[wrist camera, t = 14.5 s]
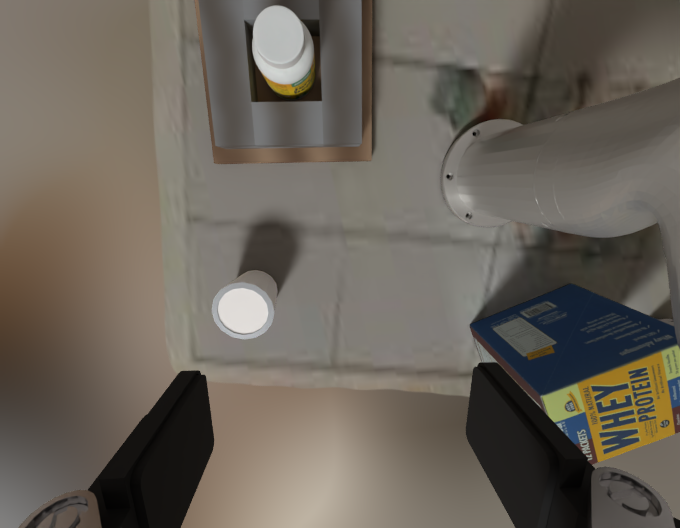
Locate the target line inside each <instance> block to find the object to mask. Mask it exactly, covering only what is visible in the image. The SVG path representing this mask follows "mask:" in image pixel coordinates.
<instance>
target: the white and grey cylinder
mask: <svg viewBox="0 0 680 528" xmlns="http://www.w3.org/2000/svg"><path fill="white" fill-rule="evenodd" d="M277 294H278V290H277V284H276V282H275V281H274V279H273V278H272V277H271V276H270V275H268V274H267V273H265V272H263V271H259V270H252V271H247V272H246V273H244V274H242V275H240V276H239V277H238V278H236V279H235V280H233V281H232V282H231V283H229V284H228V285H226V286H225V287H223V288H222V289H221V290H220V291H219V292H218V294H217V295H216V296H215V298H214V300H213V305H212V314H213V318H214V321H215V323H216V324H217V325H218V327H219V328H220V329H221V330H222V331H223V332H225V333H226V334H228V335H230V336H231V337H235V338H239V339H250V338H256V337H257V336H259V335H261V334H263V333H265V332H266V330H267V329H268V328H269V327H270V325H271V324H272V321H273V317H274V312H275V306H276V300H277Z"/></svg>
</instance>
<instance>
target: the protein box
mask: <svg viewBox="0 0 680 528" xmlns="http://www.w3.org/2000/svg"><path fill="white" fill-rule="evenodd" d="M470 329H471V332H472V335H473V337H474V340H475V343H476V346H477V349H478V352H479V355H480V358H481V361H482V362H497V363H498V364H499V365H500V366H501V367H502V368H503V369H504V370H505V371H506V372H507V373H508V374H509V375H510V376H511V377H512V378H513V379H514V380H515V381H516V383H517V384H518V385H519V386H520V387H521V388H522V389H523V390H524V391H525V392H526V393H527V394H528V395H529V396H530V397H531V398H532V399H533V400H534V402H535V403H536V404H537V405H538V406H539V407H540V408H541V409H542V410H543V411H544V412H545V413H546V414H547V415H548V416H549V417H550V418H551V420H552V421H553V422H554V423H555V424H556V425H557V426H558V427H559V428H560V429H561V430H562V431H563V432H564V433H565V434H566V435H567V436H568V437H569V439H570V440H571V441H572V442H573V443H574V444H575V445H576V446H577V447H578V448H579V449H580V450H581V451H582V452H583V453H584V454H585V455H586V456H587V458H588V462H589V463H590V464H591V465H592V464H595V463H597V462H600V461H603V460H606V459H609V458H611V457H614V456H617V455H619V454H622V453H625V452H627V451H630V450H633V449H635V448H638V447H641V446H644V445H646V444H649V443H652V442H655V441H657V440H660V439H663V438H665V437H668V436H671V435H673V434H675V433H678V432H680V349H679V346H678V343H677V338H676V334H675V327H674V326H672V325H670V324H668V323H665V322H663V321H660V320H658V319H655V318H653V317H651V316H648V315H646V314H643V313H641V312H639V311H636V310H634V309H631V308H629V307H627V306H624V305H622V304H620V303H617V302H615V301H612V300H610V299H608V298H605V297H603V296H601V295H598V294H596V293H593V292H591V291H589V290H586V289H584V288H582V287H579V286H577V285H575V284H569V285H566V286H564V287H561V288H559V289H556V290H554V291H552V292H549V293H547V294H544V295H542V296H539V297H537V298H534V299H532V300H529V301H527V302H525V303H522V304H519V305H517V306H514V307H512V308H509V309H507V310H504V311H502V312H499V313H497V314H494V315H492V316H489V317H487V318H484V319H482V320H479V321H477V322H475V323H472V324H470Z"/></svg>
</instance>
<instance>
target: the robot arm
mask: <svg viewBox="0 0 680 528" xmlns="http://www.w3.org/2000/svg"><path fill="white" fill-rule="evenodd" d="M473 132H474V134H475V135H474V136H473V134H472V133H473ZM447 174H448V175H449V178H448V179H447V178H446V176H447ZM441 190H442V193H443V197H444V200H445V202H446V204H447V206H448V207H449V209H450V210H451V211H452V212H453V214H455V215H456V216H457V217H458V218H459V219H461V220H463V221H465V222H466V223H468V224H472V225H475V226H480V227H496V226H501V225H504V224H507V223H509V222H512V221H515V222H520V223H524V224H529V225H534V226H538V227H543V228H547V229H552V230H557V231H561V232H566V233H570V234H576V235H581V236H587V237H595V238H609V237H617V236H622V235H627V234H631V233H634V232H637V231H640V230H642V229H644V228H647V227H649V226H652V225H654V224H656V223H658V224H659V227H660V231H661V236H662V244H663V252H664V256H665V258H666V262H667V271H668V279H669V288H670V297H671V305H672V314H673V320H674V327H675V334H676V338H677V343H678V346H679V349H680V78H677V79H675V80H672V81H670V82H667V83H664V84H662V85H659V86H656V87H653V88H650V89H647V90H644V91H641V92H638V93H635V94H631V95H628V96H625V97H622V98H618V99H615V100H611V101H608V102H604V103H601V104H597V105H594V106H590V107H587V108H583V109H579V110H576V111H572V112H569V113H565V114H562V115H558V116H554V117H551V118H547V119H544V120H540V121H536V122H533V123H529V124H526V125H523V124H521V123H519V122H516V121H513V120H508V119H494V120H489V121H485V122H482V123H480V124H477V125H475V126H473V127H471V128H470V129H468V130H467V131H465V132H464V133H463V134H462V135H461V136H460V137H459V138H458V139H457V140H456V141H455V142H454V143H453V145H452V146H451V148H450V149H449V151H448V153H447V155H446V157H445V159H444V163H443V166H442V171H441ZM466 214H468V216H467V217H466ZM467 416H468V417H467V423H466V435H467V439H468V442H469V444H470V445H471V447H472V449H473V451H474V453H475V454H476V456H477V458H478V460H479V462H480V464H481V466H482V467H483V469H484V471H485V473H486V474H487V476H488V478H489V480H490V482H491V484H492V485H493V487H494V489H495V491H496V493H497V495H498V496H499V498H500V500H501V502H502V504H503V506H504V507H505V509H506V511H507V513H508V515H509V517H510V518H511V520H512V522H513V524H514V526H515V528H680V520H678V519H676V518H673V516H672V512H671V510H670V508H669V506H668V503H667V502H666V501H665V500H664V498H663V497H662V496H661V495H660V494H659V493H658V492H657V491H656V490H655V489H654V488H652V487H651V486H650V485H649V484H647V483H646V482H644V481H643V480H641V479H640V478H638V477H636V476H634V475H632V474H630V473H628V472H625V471H623V470H620V469H616V468H611V467H600V468H597V469H595V468H594V467H593V466H592V465H591V464H590V463H589V462H588V458H587V456H586V455H585V454H584V453H583V452H582V451H581V450H580V449H579V448H578V447H577V446H576V445H575V444H574V443H573V442H572V441H571V440H570V439H569V437H568V436H567V435H566V434H565V433H564V432H563V431H562V430H561V429H560V428H559V427H558V426H557V425H556V424H555V423H554V422H553V421H552V420H551V418H550V417H549V416H548V415H547V414H546V413H545V412H544V411H543V410H542V409H541V408H540V407H539V406H538V405H537V404H536V403H535V402H534V400H533V399H532V398H531V397H530V396H529V395H528V394H527V393H526V392H525V391H524V390H523V389H522V388H521V387H520V386H519V385H518V384H517V383H516V381H515V380H514V379H513V378H512V377H511V376H510V375H509V374H508V373H507V372H506V371H505V370H504V369H503V368H502V367H501V366H500V365H499V364H498V363H497V362H482V363H479V364H478V366H477V367H474V369H473V375H472V383H471V391H470V400H469V408H468V415H467ZM213 446H214V434H213V427H212V420H211V411H210V404H209V396H208V388H207V381H206V376H205V375H201V373H200V371H181V372H180V373H179V374H178V375H177V376H176V378H175V379H174V380H173V382H172V383H171V384H170V386H169V387H168V388H167V390H166V391H165V392H164V394H163V395H162V396H161V398H160V399H159V400H158V401H157V403H156V404H155V405H154V407H153V408H152V409H151V411H150V412H149V413H148V414H147V415H146V416H145V417H144V418H143V419H142V420H141V421H140V422H139V424H138V425H137V426H136V428H135V429H134V430H133V432H132V433H131V434H130V435H129V437H128V438H127V439H126V441H125V442H124V443H123V445H122V446H121V447H120V448H119V450H118V451H117V453H116V454H115V455H114V456H113V458H112V459H111V460H110V461H109V463H108V464H107V466H106V467H105V468H104V469H103V471H102V472H101V473H100V475H99V476H98V477H97V478H96V480H95V481H94V482H93V484H92V485H91V486H90V488H89V489H88V490H76V491H71V492H67V493H65V494H62V495H60V496H58V497H55V498H53V499H52V500H50V501H48V502H47V503H45V504H43V505H42V506H40V507H39V508H38V509H37V510H35V511H34V512H33V513H31V514H30V515H29V517H28V518H26V520H25V521H24V522H23V523H22V524H21V525H20V526H19V528H181V525H182V523H183V520H184V518H185V516H186V513H187V510H188V508H189V506H190V503H191V501H192V498H193V496H194V494H195V492H196V489H197V487H198V484H199V482H200V480H201V477H202V475H203V472H204V470H205V467H206V465H207V463H208V460H209V458H210V455H211V453H212V451H213Z"/></svg>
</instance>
